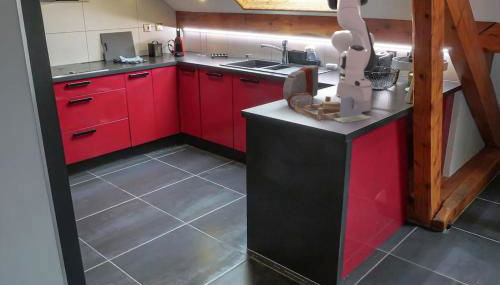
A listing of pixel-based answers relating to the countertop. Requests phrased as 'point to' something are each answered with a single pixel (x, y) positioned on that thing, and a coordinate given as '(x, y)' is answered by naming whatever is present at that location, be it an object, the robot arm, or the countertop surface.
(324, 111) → the offcut lower
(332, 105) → the offcut upper
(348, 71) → the robot arm
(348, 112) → the lavender grey box
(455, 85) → the countertop surface
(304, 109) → the rack
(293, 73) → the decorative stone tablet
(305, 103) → the tin
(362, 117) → the mat
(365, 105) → the soap bottle
